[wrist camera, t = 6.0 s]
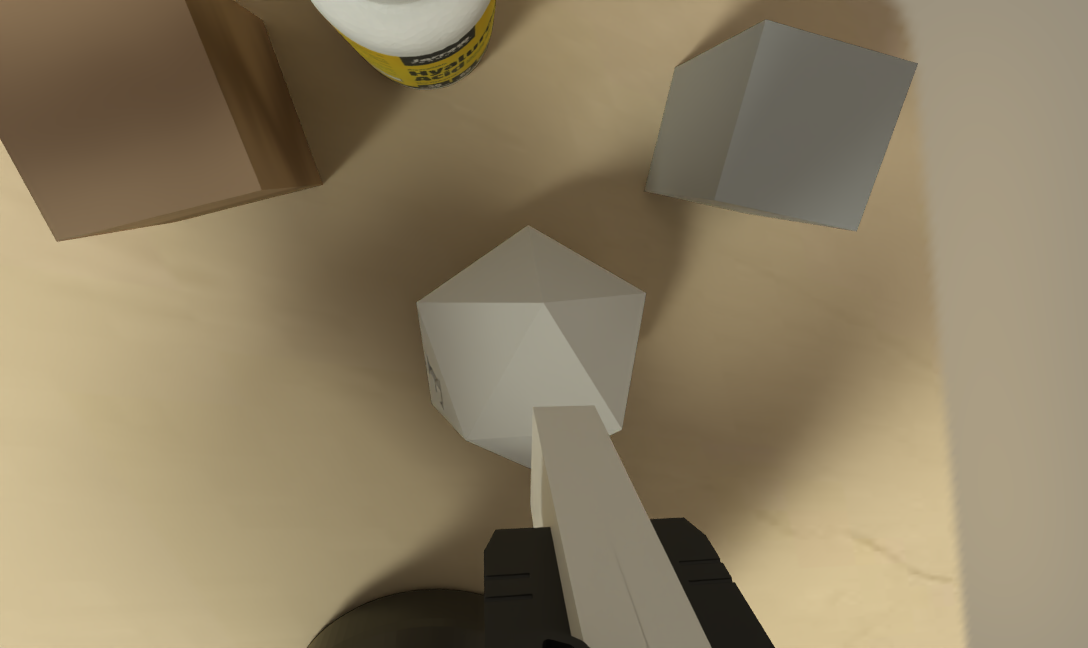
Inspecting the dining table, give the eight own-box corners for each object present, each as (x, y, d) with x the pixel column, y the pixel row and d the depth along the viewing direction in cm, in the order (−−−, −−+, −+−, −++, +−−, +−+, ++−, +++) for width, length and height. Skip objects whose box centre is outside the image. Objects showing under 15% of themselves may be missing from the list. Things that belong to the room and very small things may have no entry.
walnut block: (323, 184, 21) (261, 189, 15) (176, 221, 20) (56, 241, 15) (263, 20, 19) (166, -45, 13) (101, 59, 18) (-71, 10, 13)
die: (494, 185, 22) (331, 297, 15) (693, 229, 19) (608, 393, 12) (499, 333, 27) (378, 469, 20) (657, 384, 24) (582, 564, 17)
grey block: (747, 213, 23) (856, 231, 16) (644, 191, 22) (714, 200, 15) (783, 96, 22) (917, 63, 15) (674, 67, 21) (765, 19, 14)
